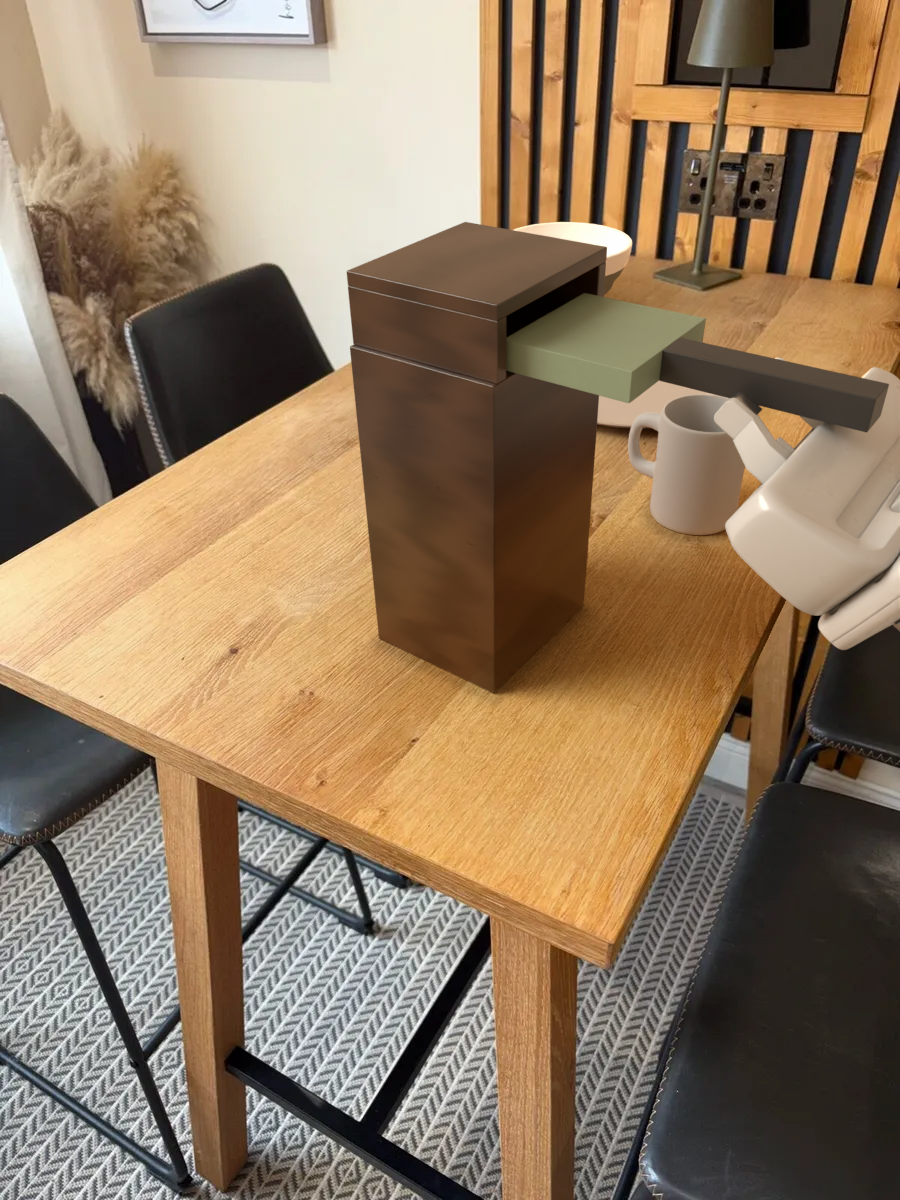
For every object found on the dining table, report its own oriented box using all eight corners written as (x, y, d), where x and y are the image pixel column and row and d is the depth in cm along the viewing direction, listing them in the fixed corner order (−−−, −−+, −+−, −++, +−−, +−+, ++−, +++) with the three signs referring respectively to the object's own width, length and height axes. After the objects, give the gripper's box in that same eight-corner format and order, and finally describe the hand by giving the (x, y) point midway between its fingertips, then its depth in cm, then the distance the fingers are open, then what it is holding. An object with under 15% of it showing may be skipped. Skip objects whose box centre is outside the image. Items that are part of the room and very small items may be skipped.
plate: (737, 448, 104) (740, 432, 102) (511, 433, 108) (512, 417, 107) (729, 358, 123) (732, 343, 122) (539, 348, 128) (539, 334, 127)
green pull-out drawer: (900, 392, 54) (909, 360, 53) (844, 461, 48) (852, 426, 47) (582, 320, 65) (584, 292, 64) (502, 369, 59) (502, 339, 57)
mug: (750, 507, 94) (769, 407, 87) (713, 545, 88) (730, 442, 82) (644, 473, 100) (654, 378, 93) (603, 507, 94) (611, 409, 88)
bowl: (485, 289, 148) (485, 227, 142) (603, 278, 150) (607, 217, 144) (514, 334, 132) (515, 267, 126) (645, 321, 135) (651, 254, 129)
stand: (584, 605, 82) (610, 244, 63) (494, 694, 73) (493, 306, 54) (474, 561, 88) (468, 219, 69) (378, 638, 79) (341, 272, 60)
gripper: (1011, 439, 57) (841, 292, 59) (917, 607, 44) (703, 413, 46) (932, 500, 62) (777, 363, 64) (826, 667, 49) (636, 490, 51)
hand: (745, 385), depth 55 cm, fingers open, 4 cm apart
